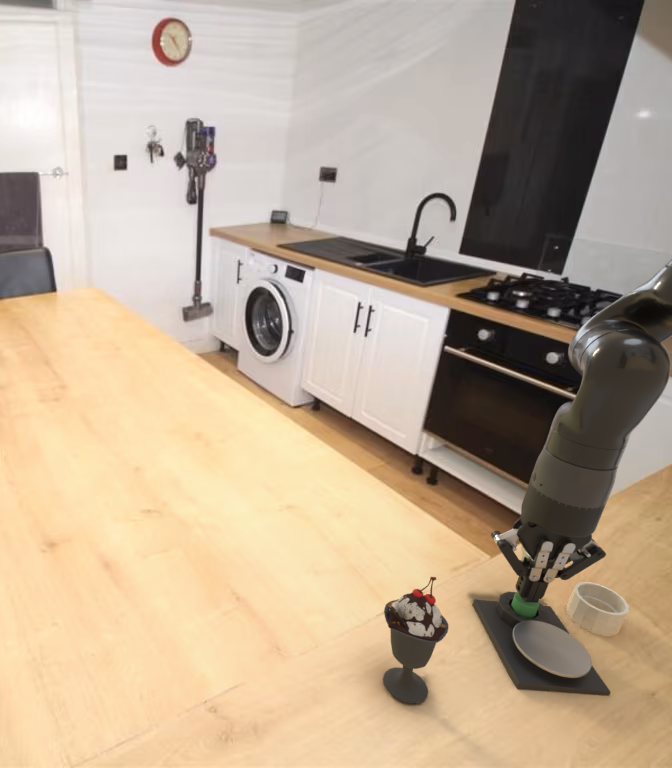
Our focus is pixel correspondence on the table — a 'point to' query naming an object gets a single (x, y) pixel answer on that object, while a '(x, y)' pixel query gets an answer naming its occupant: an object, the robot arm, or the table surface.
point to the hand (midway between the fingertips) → (527, 597)
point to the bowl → (597, 608)
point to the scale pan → (552, 649)
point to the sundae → (412, 642)
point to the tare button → (524, 606)
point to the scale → (520, 669)
